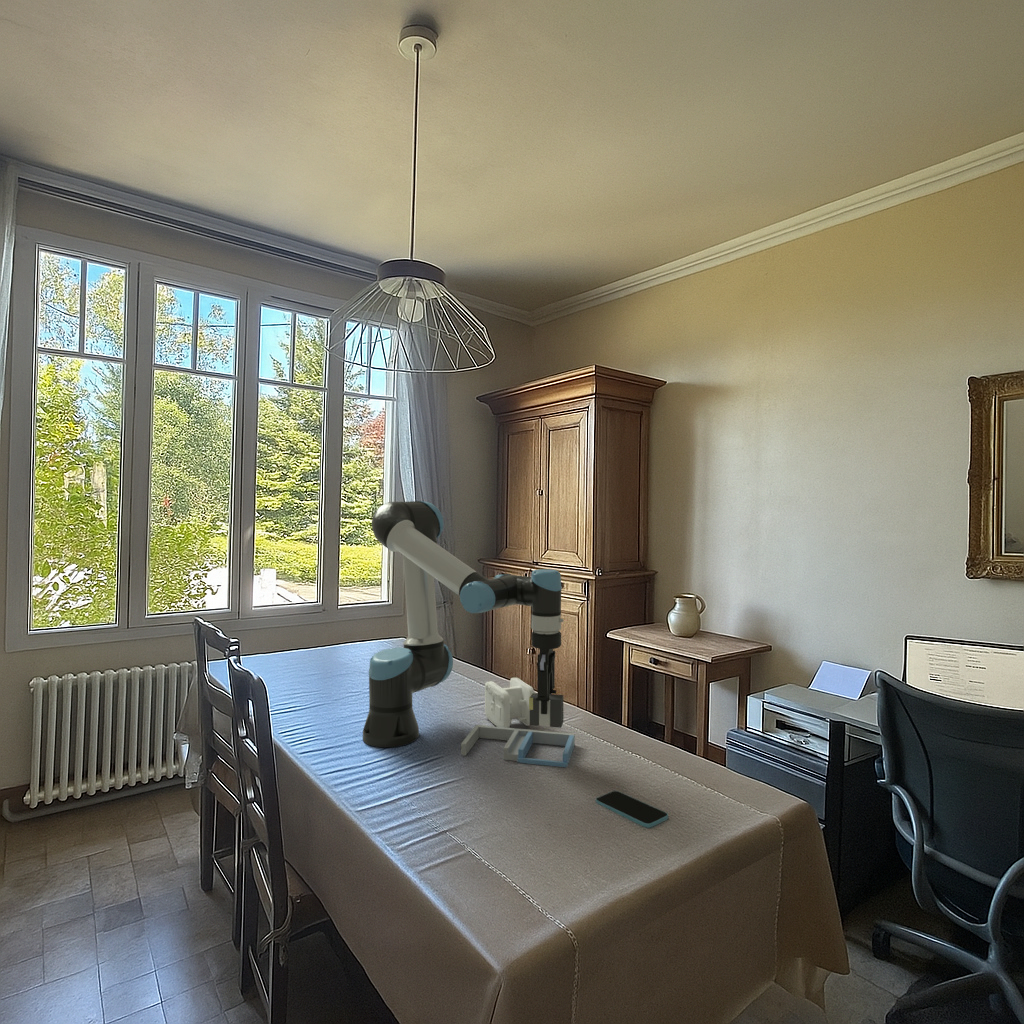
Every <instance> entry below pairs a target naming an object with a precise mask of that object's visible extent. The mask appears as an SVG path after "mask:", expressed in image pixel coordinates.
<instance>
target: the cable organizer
mask: <svg viewBox="0 0 1024 1024" xmlns="http://www.w3.org/2000/svg"><path fill="white" fill-rule="evenodd" d="M532 693H535V691H534V688H533V686H531V685H529V684H527V682H524V681H523V680H522V679H520V678H519V677H517V676H516V677H511V678H510V681H509V687H501V686H500V685H498V683H496V682H494V681H493V680H492V681H491V680H490V681H486V682H485V683H484V713H485V717H486V719H488V721H489V722H491V723H492V724H493V725H494V726H495V727H504V728H511V727H510V726H512V720H519V723H523V725H525V727H530V726H531V725H530V710H529V697H530V696H531V694H532Z"/></svg>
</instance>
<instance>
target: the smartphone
mask: <svg viewBox="0 0 1024 1024" xmlns="http://www.w3.org/2000/svg"><path fill="white" fill-rule="evenodd" d="M595 803H597V804H598V805H600V806H602V807H604V808H606V809H608V810H609V811H611V812H613V813H616V814H618V815H619V816H622V817H623V818H625V819H627V820H629V821H630V822H633V823H635V824H636V825H640V826H641V827H643V828H648V829H649V828H650V829H651V828H653V827H655V826H657V825H659V824H662V822H665V821H667V820H669V814H668V812H666V811H664V810H661V809H659V808H657V807H655V806H652V805H650V804H648V803H645V802H643V801H641V800H639V799H636V798H634V797H632V796H630V795H628V794H626V793H623V792H621V791H619V790H618V791H617V790H613V791H610V792H608V793H605V794H603V795H600V796H598V797H596V798H595Z"/></svg>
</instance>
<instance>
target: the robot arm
mask: <svg viewBox="0 0 1024 1024" xmlns="http://www.w3.org/2000/svg"><path fill="white" fill-rule="evenodd" d="M372 516H373V517H372V519H371V528H372V532H373V535H374V537H375V538H376V539H377V541H378V542H379V543H380V544H381V545H383V546H384V547H385V548H387V549H388V550H389V551H391V552H394V553H395V552H396V553H397V552H398V553H400V554H401V555H402V561H403V577H404V578H403V579H404V591H405V592H404V593H405V606H406V607H405V608H406V621H407V635H408V636H407V637H406V639H405V640H404V641H403V647H392V648H386V649H382V650H379V651H378V652H376V653H374V654H373V655H372V656H371V658H370V660H369V668H368V688H369V689H368V690H369V691H368V692H369V693H368V695H369V696H368V697H369V706H368V708H369V710H368V713H367V717H366V720H365V722H364V726H363V730H362V741H363V742H364V743H365V744H366V745H368V746H371V747H375V748H398V747H403V746H406V745H409V744H412V743H413V742H415V741H416V740H418V739H419V736H420V731H419V730H420V728H419V723H418V721H417V719H416V718H417V717H416V715H415V712H414V708H413V694H414V693H417V692H420V691H423V690H426V689H428V688H432V687H435V686H437V685H439V684H441V683H443V682H445V681H446V680H447V679H448V678H449V676H450V675H451V673H452V671H453V666H454V658H453V653H452V652H451V650H449V646H448V645H446V644H445V641H444V638H443V637H442V636H441V635H440V634H439V632H438V631H439V629H438V616H437V615H438V614H437V603H436V600H437V599H436V590H435V589H436V588H435V587H436V586H435V579H436V581H438V582H440V583H441V584H442V585H444V586H445V587H446V588H447V589H449V590H450V591H452V592H453V593H454V594H456V595H458V596H459V600H460V601H459V602H460V604H461V606H462V607H463V609H464V610H465V611H466V612H467V613H471V614H483V613H487V612H489V611H490V612H491V611H493V610H497V609H502V608H506V607H509V606H514V605H519V606H525V607H531V614H530V615H531V618H530V619H531V625H530V626H531V627H530V628H531V630H532V631H531V646H532V647H533V648H535V649H539V654H537V661H536V670H537V675H536V676H537V693H538V697H537V698H536V700H537V701H539V726H538V727H545V726H547V727H546V728H551V727H550V698H549V694H554V695H557V690H556V689H555V686H556V685H555V682H556V681H555V680H556V679H555V678H556V677H555V673H556V671H555V667H556V666H555V662H556V650H555V649H559V648H561V646H562V632H561V630H562V623H564V618H561V617H562V589H563V587H562V575H561V572H560V571H558V570H557V569H545V568H542V569H541V568H540V569H534V570H532V571H531V576H527V575H524V576H523V575H517V574H516V575H515V574H510V573H506V574H500V573H499V574H496V575H495V576H494V577H493V578H490V579H489V578H487V577H485V576H484V575H482V574H480V573H479V572H478V571H476V570H475V569H474V568H472V567H471V566H469V565H468V564H466V563H465V562H463V561H462V560H460V558H457V557H456V556H455V555H454V554H452V553H451V552H449V551H448V550H446V549H445V548H444V547H442V546H441V545H439V544H438V541H437V540H438V538H439V537H441V534H442V532H443V530H444V524H445V522H444V517H443V515H442V513H441V511H440V509H439V508H438V507H437V506H436V505H435V504H433V503H431V502H429V501H421V500H416V501H415V500H413V501H411V500H410V501H390V502H386V503H384V504H382V505H381V506H379V507H378V508H377V509H376V510H375V512H374V514H373V515H372Z"/></svg>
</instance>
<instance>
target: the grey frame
mask: <svg viewBox="0 0 1024 1024" xmlns="http://www.w3.org/2000/svg"><path fill="white" fill-rule="evenodd" d="M575 737H576V736H575V733H571V732H568V733H567V732H556V731H547V730H536V729H527V728H526V729H525V728H514V727H510V728H504V727H497V726H493V725H491V726H490V725H478V724H475V726H474V727H473V728H472V729H471V730H470V731H469V733H468V734H467V736H466V737H465V739H463V741H462V742H461V744H460V756H467V754H468V753H469V752H470V750H471V749H472V748H473V746H474V745H475V744H476V742H477V741H478V739H487V740H489V739H490V740H499V741H500V740H501V741H507V742H506V743H505V745H504V747H503V760H505V761H512V762H513V761H515V762H517V763H521V764H528V765H529V764H532V765H540V766H549V767H550V766H551V767H558V768H559V767H561V768H568V765H569V762H570V759H571V756H572V754H573V751H574V749H575V745H576V744H575V741H576V740H575V739H576V738H575ZM533 744H542V745H555V746H564V749H563V752H562V760H561V761H559V760H551V759H542V758H541V759H539V758H531V757H527V755H528V753H529V751H530V749H531V746H532V745H533Z"/></svg>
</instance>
